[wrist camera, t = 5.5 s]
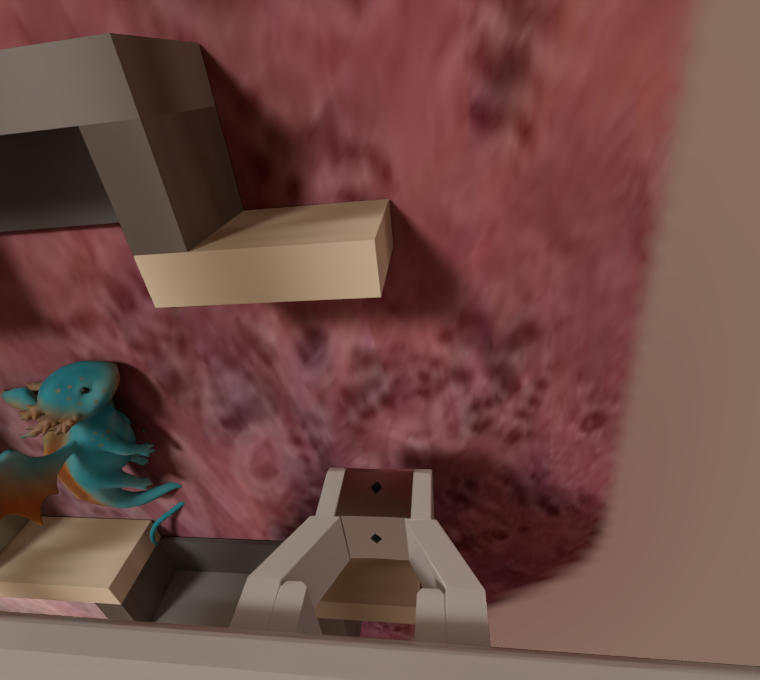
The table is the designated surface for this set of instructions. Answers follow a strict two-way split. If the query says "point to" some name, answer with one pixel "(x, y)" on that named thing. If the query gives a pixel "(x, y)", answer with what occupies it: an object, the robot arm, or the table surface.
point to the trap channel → (170, 299)
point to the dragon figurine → (76, 445)
